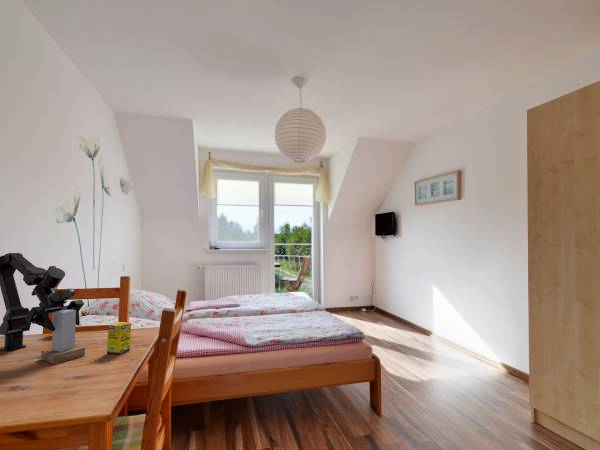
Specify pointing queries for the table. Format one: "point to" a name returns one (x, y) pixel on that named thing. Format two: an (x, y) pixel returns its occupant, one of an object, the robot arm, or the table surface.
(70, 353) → the walnut block
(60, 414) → the table surface
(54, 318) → the slate block
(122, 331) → the supplement box
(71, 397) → the table surface
